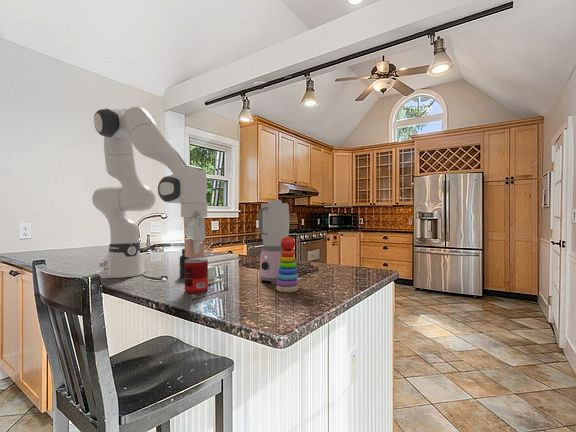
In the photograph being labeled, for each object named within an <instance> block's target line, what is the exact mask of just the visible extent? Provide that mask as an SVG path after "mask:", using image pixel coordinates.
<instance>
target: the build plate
mask: <svg viewBox="0 0 576 432" xmlns="http://www.w3.org/2000/svg"><path fill="white" fill-rule="evenodd" d="M221 282H222V279H220V278H215V279H213V280H210V281H208V286H209V284H210V285H213V284H217V283H221Z"/></svg>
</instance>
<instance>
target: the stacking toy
mask: <svg viewBox="0 0 576 432" xmlns="http://www.w3.org/2000/svg"><path fill="white" fill-rule="evenodd" d="M281 247H282V248H283V249H284V250H282V251H281V255H282V256H281V257H280V261H281V262H280V263H279V266H280V268H279V269H278V271H279V274H278V279H277V281H276V283H277V284H276V286H275V290H276V291H277V292H280V293H294V292H297V291H299V290H300V286H299V281H298V277H299V276H298V273H297V272H298V269H297V268H296V267H297V262H296V257H295V255H296V251H295V250H294V248H295V247H296V240H295V239H294V238H293V237H291V236H289V235H288V236H287V237H284V238H283V239H282V240H281Z"/></svg>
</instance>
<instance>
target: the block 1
mask: <svg viewBox="0 0 576 432" xmlns="http://www.w3.org/2000/svg"><path fill="white" fill-rule="evenodd" d="M204 244H205V242H204V241H200V248H199V253H194V252H193V248H194V243H193V242H189V241H184V249H185V257H188V258H195V257H196V258H205V257H204V256H205V255H204V251H205V250H204V247H205V246H204Z"/></svg>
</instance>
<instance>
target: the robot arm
mask: <svg viewBox="0 0 576 432" xmlns="http://www.w3.org/2000/svg"><path fill="white" fill-rule="evenodd" d="M93 123H94V128H95V131H96V132H97V133H98V134H99V135H100V136H102V137H103V152H104V161H105V162H104V163H105V170H106V173H108V175H109V176H110V177H112V178H114V179H116V180H117V181H118V182H119V183H120V185H121V186H104V187H100V188H97V189H95V190H94V192H93V193H92V197H91V198H92V199H91V200H92V204H93V206H94V207H95V208H96V209H97V211H99V212H101V214H103V215H104V216H105V218H106V219H107V222H108V225H109V233H110V243H109V245H108V253H107V254H106V256H105V257H104V258H103V259H102V260H101V261H100V262H99V267H100V268H101V270H97V271H96V272H95V275H97V274H99V275H100V276H101V277H100V276H99V277H100V278H102V279H113V278H114V279H119V278H120V279H121V278H130V277H137V276H139V275H143V274H144V273H146V272H147V269H145V266H144V255H143V253H141V252H140V250H141V243H140V231H139V230H140V228H139V227H140V226H139V225H138V224H137V222H135V221H134V220H133V219H130V218H128V216H127V213H126V212H144V211H148V210H149V211H150V210H152V209H153V207H154V206H155V203H156V195H155V192H154V190H152V189H151V188H150V187H148V186H147V185H146V184H145V183H144V181H142V180H141V178H140V176H139V174H138V171H137V169H136V162H135V156H134V155H135V154H134V148H135V149H136V151H138V153H140V154H141V155H142V156H144V157H147V158H149V159H152V160H154V161H157V162H159V163H160V164H162V165H164V166H165V167H167V168H168V169H169V170H170V172H171V173H172V174H171V175H168V176H164V177H162V178H161V179H160V180H159V183H158V186H157V194H158V196H159V198H160V199H161V200H162V201H163V202H165V203H167V204H168V203H169V204H180V217H181V218H182V219H183V230H184V236H185V237H186V238H188V242H193V243H194V248H193V252H194V253H199V248H200V242H203V241H206V240H205V239H206V224H205V223H206V221H205V218H208V200H207V194H208V181H207V174H206V170H205V169H204V168H202V167H200V166H195V165H190V164H189V165H187V164H186V162H185V161H184V159H183V158H182V156H181V155H180V154H179V153H178V152H177V150H176V149H175V147H173V146H172V145H171V144H170V142H169V141H168V140H167V138H166V137H165V136H164V134H163V133H162V131H161V130H160V128H159V126H158V124H157V123H156V121H155V120H154V118H153V117H152V116H151V114H150V113H149V112H148V111H147V110H146V109H145V108H143V107H140V106H133V107H130V108H127V109H126V108H123V109H120V108H115V109H114V108H113V109H109V108H101V109H97V111H96V112H95V114H94V117H93ZM133 147H134V148H133Z"/></svg>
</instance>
